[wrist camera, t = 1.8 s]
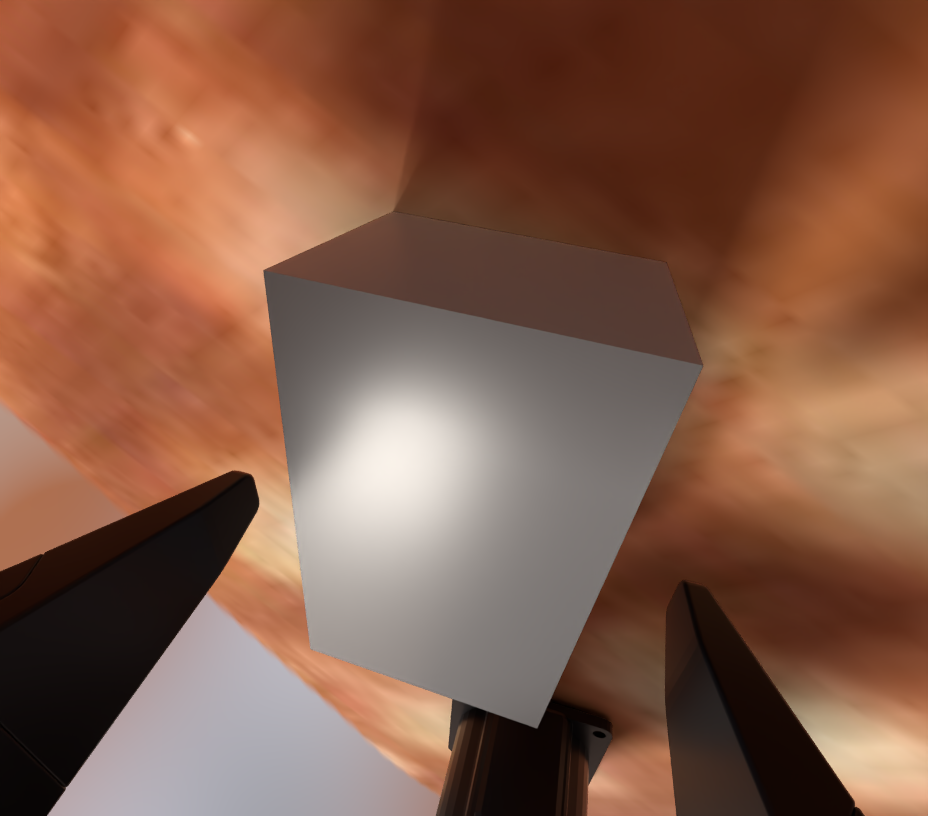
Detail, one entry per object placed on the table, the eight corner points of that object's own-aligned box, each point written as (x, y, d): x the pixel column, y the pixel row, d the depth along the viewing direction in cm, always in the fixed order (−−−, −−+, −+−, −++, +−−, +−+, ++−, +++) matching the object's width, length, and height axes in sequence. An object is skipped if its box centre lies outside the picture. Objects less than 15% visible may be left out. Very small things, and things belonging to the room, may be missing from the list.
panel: (557, 564, 15) (536, 728, 11) (386, 514, 16) (310, 648, 12) (665, 259, 10) (702, 366, 6) (396, 209, 11) (263, 270, 7)
